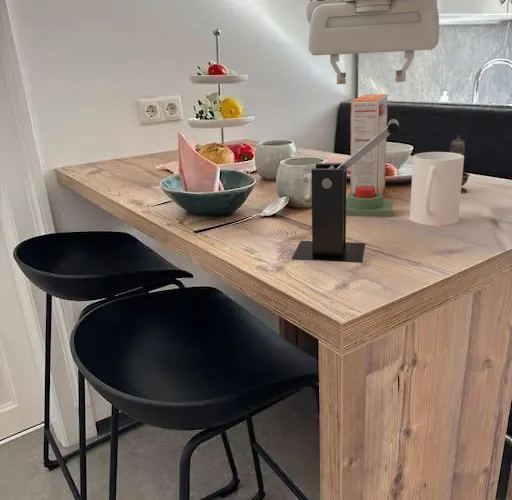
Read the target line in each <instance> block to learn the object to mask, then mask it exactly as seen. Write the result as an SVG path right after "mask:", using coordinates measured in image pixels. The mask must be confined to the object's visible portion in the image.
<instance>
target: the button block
mask: <svg viewBox="0 0 512 500" xmlns="http://www.w3.org/2000/svg"><path fill="white" fill-rule="evenodd" d="M346 217H378V218H379V217H381V218H392V217H393V199H384V193H383V194H381V193H379V192H375V197H372V198H359V197H355V192H352V193H351V192H349V193H347V194H346Z"/></svg>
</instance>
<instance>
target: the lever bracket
mask: <svg viewBox="0 0 512 500" xmlns="http://www.w3.org/2000/svg"><path fill="white" fill-rule="evenodd" d="M342 163H343V162H323V163H322V162H316V163H315V168H312V169H311V173H310V174H311V240H300V241H299V244H298V245H297V247H296V249H295V251H294V253H293V255H292V257H291V260H296V261H298V260H299V261H317V262H318V261H319V262H337V263H338V262H339V263H361V264H362V263H363V259H364V253H365V247H366V243H365V242H349V241H348V242H347V216H346V199H347V191H348V190H347V185H348V184H347V182H348V181H347V178H348V169H347V170H346V171H345V172H344V169H328V168H329V167H331V166H332V165H333V166H334V167H335V168H338V167H339V166H340V165H341V164H342Z"/></svg>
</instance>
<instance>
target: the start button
mask: <svg viewBox="0 0 512 500" xmlns="http://www.w3.org/2000/svg"><path fill="white" fill-rule="evenodd" d="M355 197H359V198H372V197H375V187H372V186H359V187H356V189H355Z"/></svg>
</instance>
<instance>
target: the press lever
mask: <svg viewBox="0 0 512 500" xmlns="http://www.w3.org/2000/svg"><path fill="white" fill-rule="evenodd" d="M399 131H400V123H399V121H398V120H397V119H396V118H392V119H389V120H388V121H387V127H386V128H384V129H383V130H382V131H381V132H380V133H378V134H377V135H376V136H375V137H374V138H372V139H371V140H370V141H369V142H368V143H366V144H365V145H364V146H363V147H362V148H360V149H359V150H358V151H357V152H356V153H354V154H353V155H352V156H351V155H350V156H349V157H348V158H347V159H346V160H344V162H341V163H342V164H341V165H340V166H339V167H338V168H335V167H334V166H333V165H332V166H331V167H329V168H328V169H344V172H345V171H346V170H347V171H348V170H349V169H351V166H352V165H353V164H355V163H356V162H357V161H358V160H359V159H361V158H362V157H363V156H364V155H366V154H367V153H368V152H369V151H370V150H372V149H373V148H374V147H375V146H377V145H378V144H379V143H380V142H381V141H383V140H384V139H385V138H386V139H387V138H388V137H389V136H390V135H396V134H397V133H399Z"/></svg>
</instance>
